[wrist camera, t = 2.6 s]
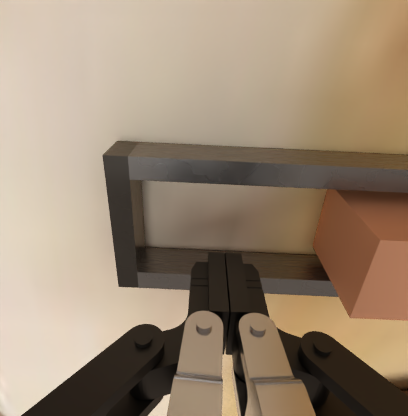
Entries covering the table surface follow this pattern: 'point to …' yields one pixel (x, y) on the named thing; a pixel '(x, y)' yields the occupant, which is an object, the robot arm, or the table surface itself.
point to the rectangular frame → (235, 175)
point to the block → (366, 251)
